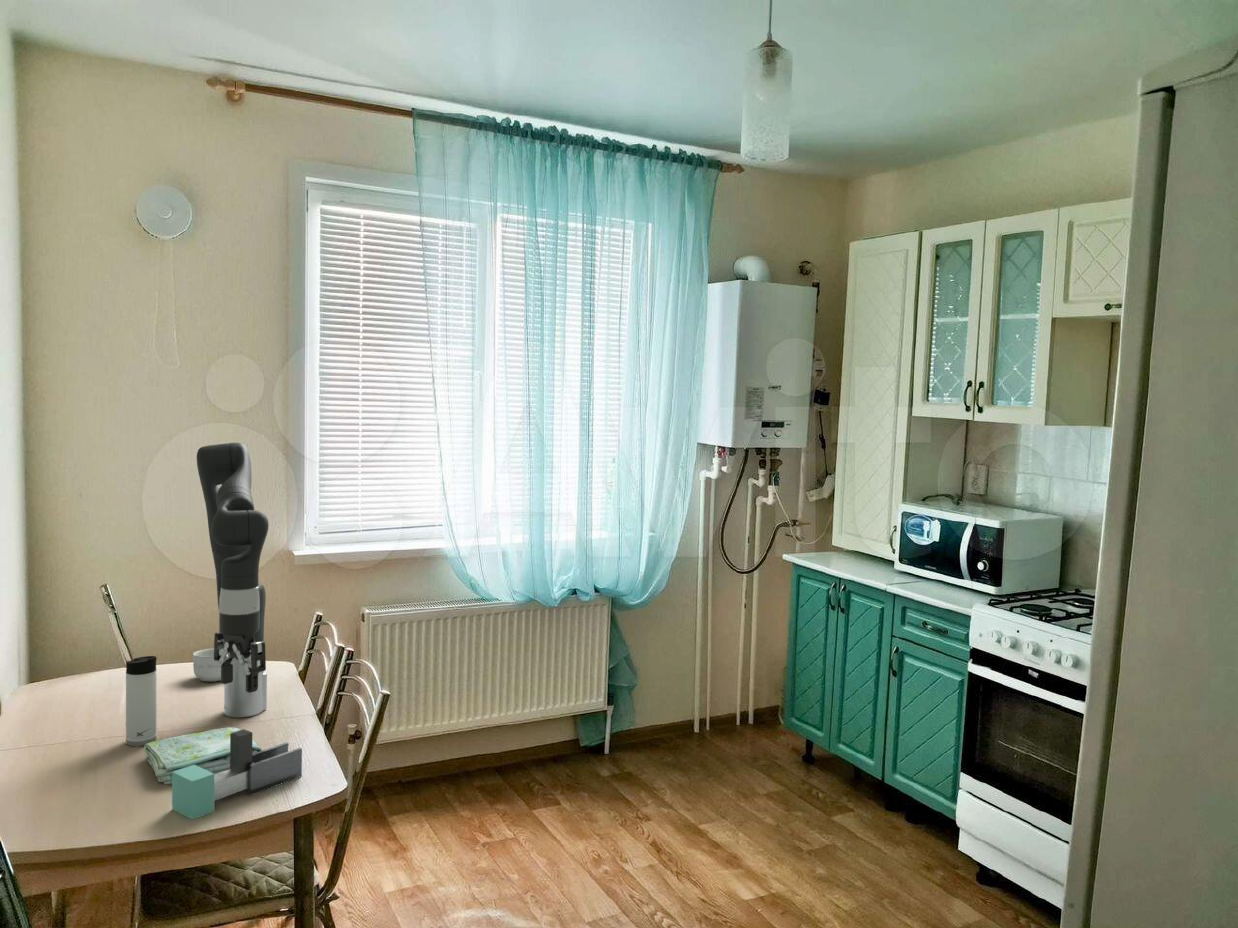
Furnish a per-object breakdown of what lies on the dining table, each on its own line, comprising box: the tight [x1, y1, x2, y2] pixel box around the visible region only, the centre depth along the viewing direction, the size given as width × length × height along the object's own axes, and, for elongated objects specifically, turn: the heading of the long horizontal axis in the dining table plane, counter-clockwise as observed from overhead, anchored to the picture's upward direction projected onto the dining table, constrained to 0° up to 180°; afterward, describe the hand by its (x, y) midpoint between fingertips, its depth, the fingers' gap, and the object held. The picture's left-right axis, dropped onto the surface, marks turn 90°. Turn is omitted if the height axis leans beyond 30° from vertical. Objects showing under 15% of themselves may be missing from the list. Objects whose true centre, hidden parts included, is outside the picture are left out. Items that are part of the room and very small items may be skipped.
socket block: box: [171, 765, 215, 820], centre depth 174 cm, size 4×7×8 cm, turn 56°
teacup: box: [192, 648, 223, 682], centre depth 254 cm, size 14×11×8 cm
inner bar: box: [214, 728, 254, 801], centre depth 180 cm, size 14×4×11 cm, turn 146°
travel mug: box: [125, 655, 157, 747], centre depth 207 cm, size 6×7×20 cm
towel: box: [143, 727, 263, 785], centre depth 198 cm, size 18×21×5 cm
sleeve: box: [240, 742, 303, 796], centre depth 188 cm, size 12×5×6 cm, turn 146°
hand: (239, 687), depth 182 cm, fingers open, 8 cm apart
